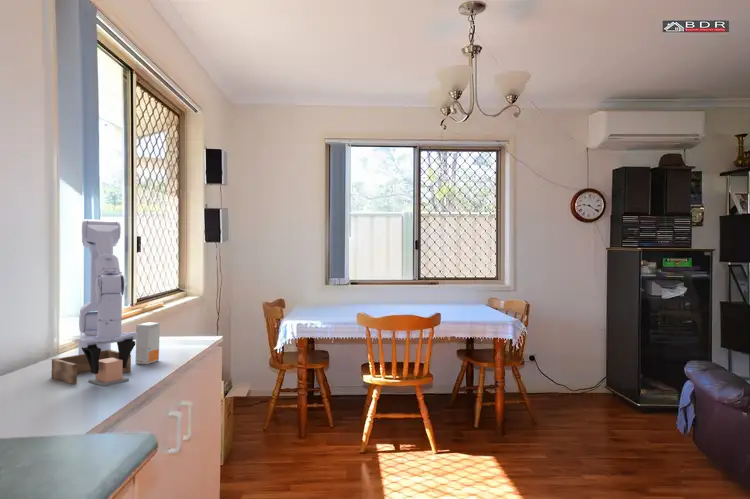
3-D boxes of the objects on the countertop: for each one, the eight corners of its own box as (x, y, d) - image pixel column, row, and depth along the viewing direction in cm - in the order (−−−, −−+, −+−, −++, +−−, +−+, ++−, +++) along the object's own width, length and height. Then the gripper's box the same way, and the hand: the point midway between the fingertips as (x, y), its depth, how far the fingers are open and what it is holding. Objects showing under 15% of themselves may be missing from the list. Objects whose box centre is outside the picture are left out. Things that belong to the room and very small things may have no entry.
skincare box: (147, 364, 157) (148, 325, 156) (135, 364, 157) (135, 324, 157) (159, 360, 163) (160, 322, 162) (147, 359, 163) (148, 321, 163)
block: (95, 379, 137) (95, 360, 137) (111, 375, 141) (112, 357, 141) (105, 382, 135) (106, 363, 134) (122, 378, 138) (122, 360, 138)
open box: (51, 377, 140) (51, 359, 140) (108, 366, 154) (109, 349, 154) (72, 384, 134) (73, 365, 134) (130, 371, 148) (130, 354, 148)
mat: (88, 381, 137) (88, 379, 137) (114, 376, 143) (114, 374, 143) (103, 386, 133) (103, 383, 133) (128, 380, 139) (128, 378, 139)
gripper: (90, 324, 129) (89, 378, 129) (143, 317, 142) (142, 367, 142) (75, 321, 133) (74, 374, 133) (128, 315, 145) (127, 363, 145)
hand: (109, 370), depth 138 cm, fingers open, 7 cm apart
